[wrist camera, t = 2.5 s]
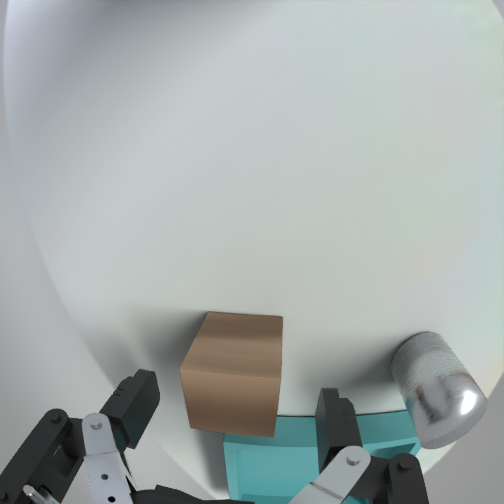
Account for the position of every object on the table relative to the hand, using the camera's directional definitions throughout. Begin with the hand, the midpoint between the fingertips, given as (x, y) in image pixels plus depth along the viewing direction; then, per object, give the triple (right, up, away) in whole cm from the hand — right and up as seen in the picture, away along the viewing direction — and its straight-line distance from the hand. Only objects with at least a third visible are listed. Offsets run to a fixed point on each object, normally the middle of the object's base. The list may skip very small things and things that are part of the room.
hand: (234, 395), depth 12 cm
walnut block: (0, +2, +3) cm, 4 cm away
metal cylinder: (+11, 0, +3) cm, 12 cm away
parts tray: (+6, -11, +6) cm, 14 cm away
